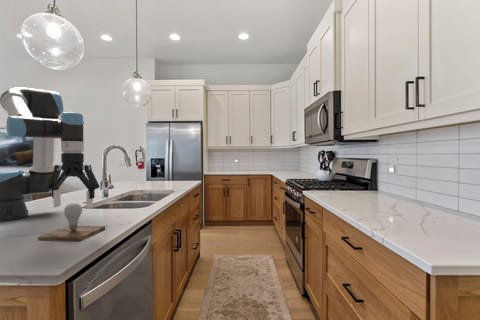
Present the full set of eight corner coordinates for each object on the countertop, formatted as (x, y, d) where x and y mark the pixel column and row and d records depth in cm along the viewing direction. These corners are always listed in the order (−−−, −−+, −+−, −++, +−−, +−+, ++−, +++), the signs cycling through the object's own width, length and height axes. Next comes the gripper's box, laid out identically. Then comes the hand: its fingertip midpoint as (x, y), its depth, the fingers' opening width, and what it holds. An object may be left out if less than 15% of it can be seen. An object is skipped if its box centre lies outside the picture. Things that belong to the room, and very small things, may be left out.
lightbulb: (86, 229, 109) (85, 202, 109) (72, 233, 104) (71, 204, 103) (74, 228, 111) (74, 201, 111) (60, 232, 106) (60, 204, 105)
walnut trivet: (69, 228, 116) (69, 225, 116) (105, 229, 115) (105, 226, 115) (38, 239, 100) (38, 236, 100) (79, 241, 99) (79, 237, 99)
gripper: (34, 152, 104) (35, 208, 105) (97, 152, 102) (97, 209, 102) (50, 152, 112) (51, 204, 112) (108, 152, 109) (109, 205, 110)
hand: (73, 207), depth 107 cm, fingers open, 13 cm apart
